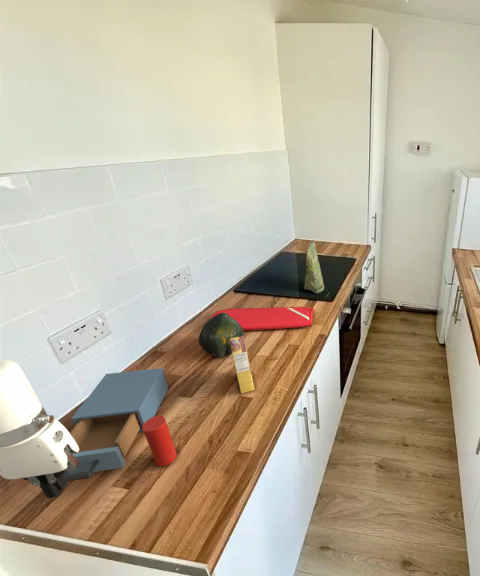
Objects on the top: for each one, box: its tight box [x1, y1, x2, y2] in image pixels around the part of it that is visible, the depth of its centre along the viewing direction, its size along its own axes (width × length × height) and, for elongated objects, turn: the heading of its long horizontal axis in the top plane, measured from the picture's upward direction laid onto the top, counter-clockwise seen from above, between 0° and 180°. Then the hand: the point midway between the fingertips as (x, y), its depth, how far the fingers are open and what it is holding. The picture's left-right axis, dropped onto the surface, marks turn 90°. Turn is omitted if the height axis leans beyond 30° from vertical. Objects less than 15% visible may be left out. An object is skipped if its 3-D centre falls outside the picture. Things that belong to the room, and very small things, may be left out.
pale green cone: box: [303, 239, 325, 294], centre depth 161 cm, size 11×12×25 cm
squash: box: [198, 312, 245, 359], centre depth 117 cm, size 14×15×15 cm
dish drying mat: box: [209, 306, 315, 332], centre depth 136 cm, size 16×41×4 cm, turn 98°
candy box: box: [230, 336, 255, 395], centre depth 101 cm, size 9×4×15 cm, turn 28°
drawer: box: [63, 413, 141, 483], centre depth 78 cm, size 20×13×6 cm
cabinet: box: [71, 367, 170, 433], centre depth 90 cm, size 17×15×8 cm
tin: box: [142, 415, 178, 467], centre depth 77 cm, size 4×4×12 cm
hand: (58, 490), depth 65 cm, fingers closed
